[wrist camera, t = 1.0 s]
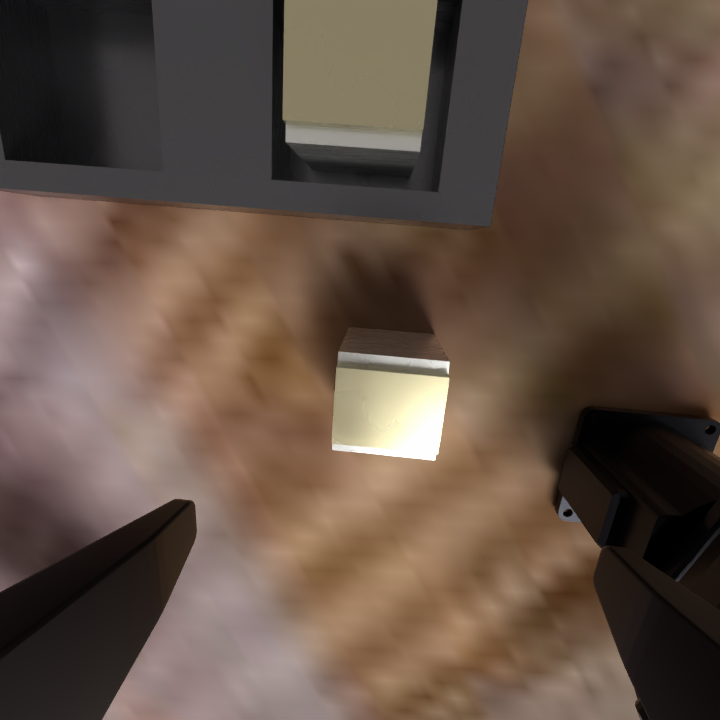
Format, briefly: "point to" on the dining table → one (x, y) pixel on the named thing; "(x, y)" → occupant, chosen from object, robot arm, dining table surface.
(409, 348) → the cream two-tone block
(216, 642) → the dining table surface
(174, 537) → the robot arm
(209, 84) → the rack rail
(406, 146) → the beige block
